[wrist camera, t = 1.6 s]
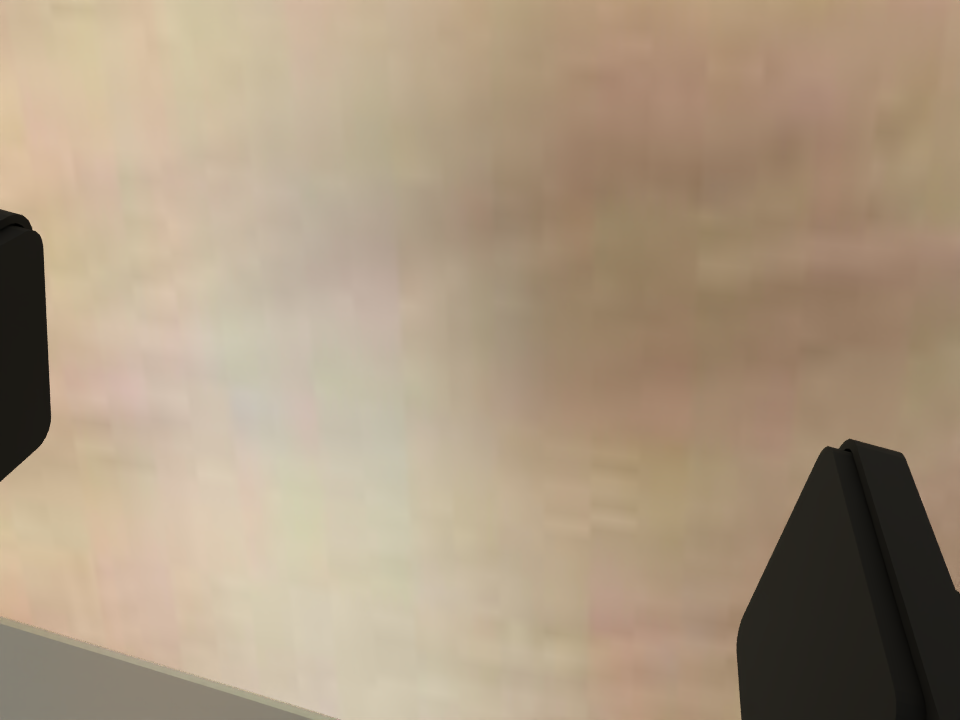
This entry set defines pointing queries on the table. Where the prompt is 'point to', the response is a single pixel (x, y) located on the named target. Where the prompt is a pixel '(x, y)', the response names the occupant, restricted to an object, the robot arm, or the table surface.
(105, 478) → the table surface
